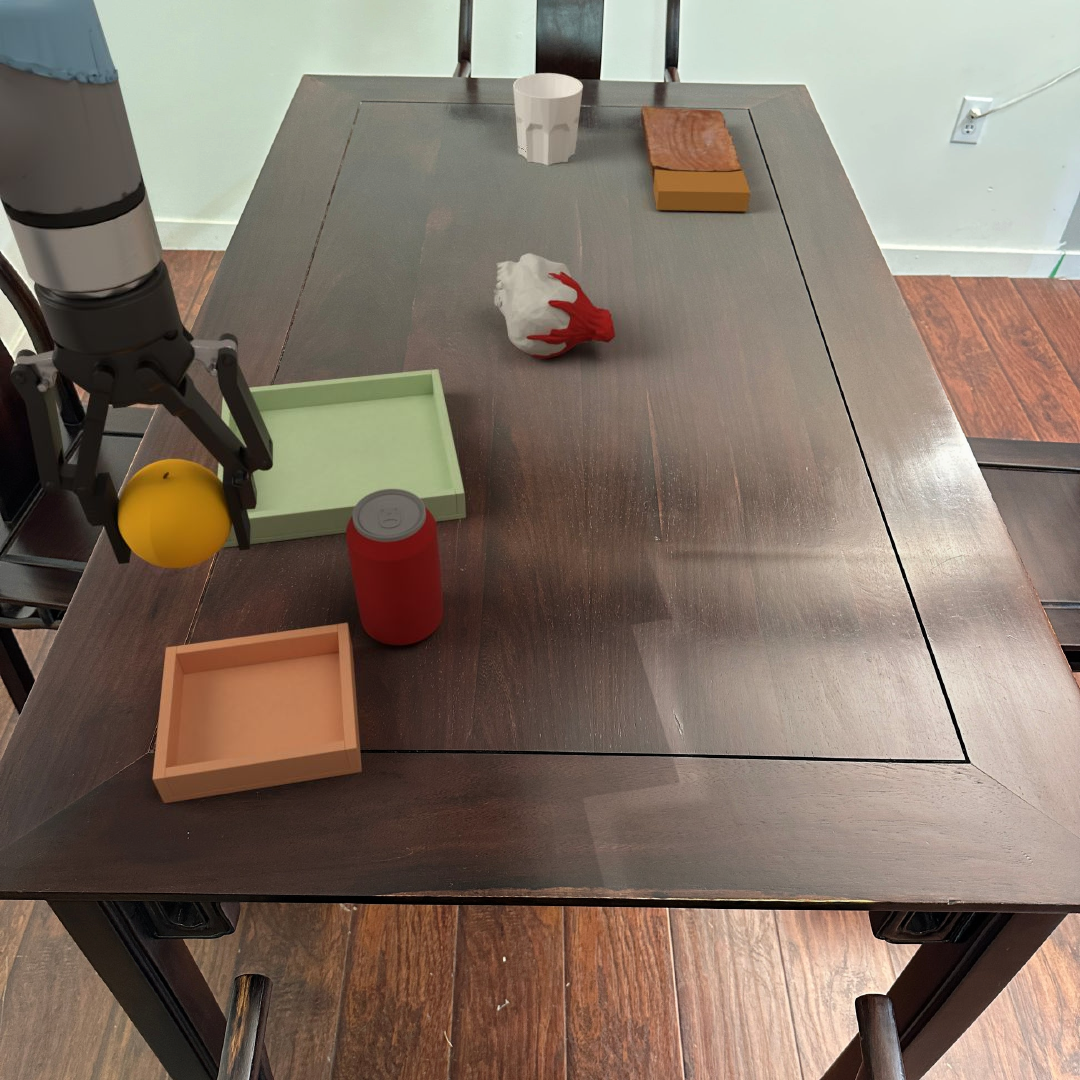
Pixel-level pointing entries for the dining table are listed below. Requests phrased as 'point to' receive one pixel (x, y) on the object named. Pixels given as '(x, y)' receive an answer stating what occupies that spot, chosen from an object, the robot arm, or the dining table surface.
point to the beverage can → (395, 566)
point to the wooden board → (693, 161)
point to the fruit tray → (350, 452)
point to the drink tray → (257, 713)
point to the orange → (174, 514)
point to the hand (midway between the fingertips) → (186, 543)
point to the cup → (547, 116)
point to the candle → (547, 308)
